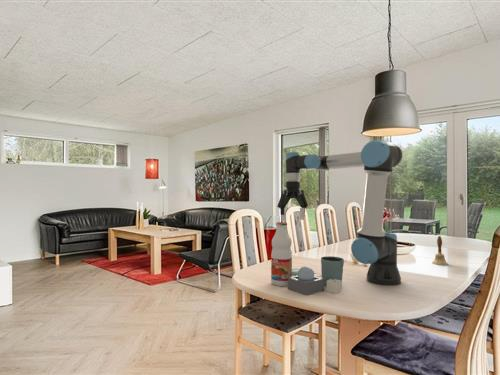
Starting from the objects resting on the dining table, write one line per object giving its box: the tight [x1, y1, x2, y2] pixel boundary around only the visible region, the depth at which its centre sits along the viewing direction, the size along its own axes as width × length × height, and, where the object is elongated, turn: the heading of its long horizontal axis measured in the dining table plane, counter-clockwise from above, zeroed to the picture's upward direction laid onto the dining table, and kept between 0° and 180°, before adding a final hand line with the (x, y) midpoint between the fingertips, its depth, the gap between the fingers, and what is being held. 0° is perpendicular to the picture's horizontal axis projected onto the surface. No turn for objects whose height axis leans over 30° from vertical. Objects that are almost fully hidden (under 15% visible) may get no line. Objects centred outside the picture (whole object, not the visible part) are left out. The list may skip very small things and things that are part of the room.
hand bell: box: [431, 235, 449, 266], centre depth 200 cm, size 8×8×16 cm
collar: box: [287, 275, 325, 296], centre depth 149 cm, size 11×11×5 cm
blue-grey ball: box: [298, 265, 315, 282], centre depth 149 cm, size 7×7×7 cm
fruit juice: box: [270, 221, 293, 287], centre depth 158 cm, size 9×9×28 cm
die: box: [326, 279, 342, 294], centre depth 147 cm, size 4×4×5 cm
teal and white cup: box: [320, 255, 345, 288], centre depth 156 cm, size 10×10×12 cm
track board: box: [292, 267, 322, 278], centre depth 170 cm, size 24×13×1 cm, turn 37°
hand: (293, 220), depth 187 cm, fingers open, 13 cm apart
